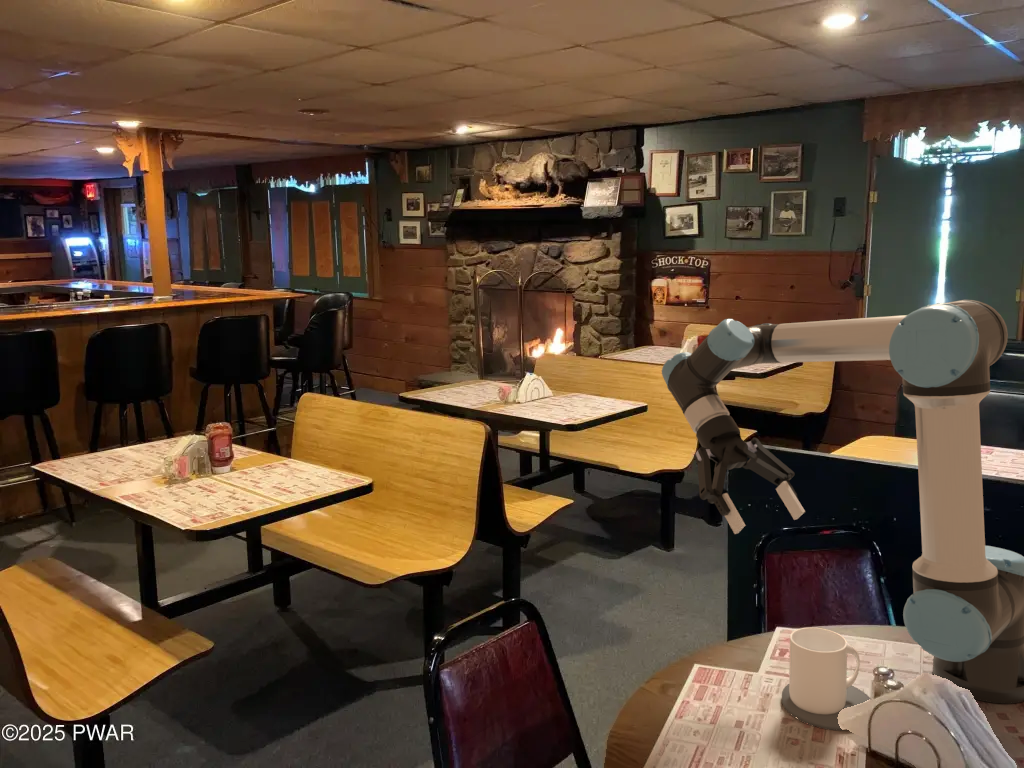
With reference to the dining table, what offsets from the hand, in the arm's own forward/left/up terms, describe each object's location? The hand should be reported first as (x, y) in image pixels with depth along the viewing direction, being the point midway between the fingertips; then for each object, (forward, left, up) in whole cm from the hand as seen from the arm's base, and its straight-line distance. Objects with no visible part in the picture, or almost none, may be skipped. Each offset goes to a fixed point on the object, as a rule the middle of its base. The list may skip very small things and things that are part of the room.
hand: (770, 522), depth 141 cm
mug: (-9, +11, -26) cm, 30 cm away
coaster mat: (-9, +11, -27) cm, 30 cm away
